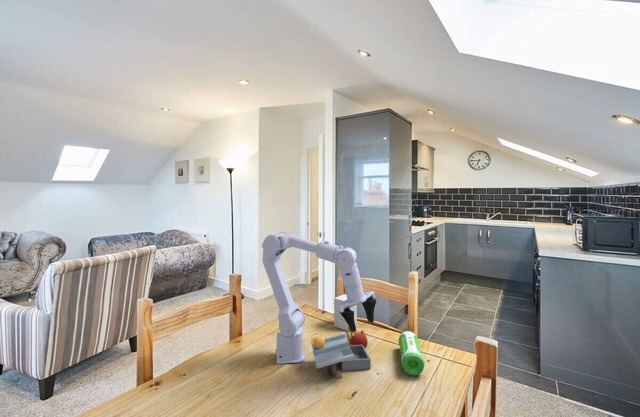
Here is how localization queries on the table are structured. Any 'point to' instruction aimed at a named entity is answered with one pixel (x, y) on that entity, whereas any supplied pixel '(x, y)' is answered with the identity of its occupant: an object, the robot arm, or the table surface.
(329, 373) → the stand
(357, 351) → the grey open box
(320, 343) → the ball
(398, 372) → the table surface
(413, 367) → the speaker
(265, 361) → the table surface
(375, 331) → the table surface
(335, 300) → the supplement box
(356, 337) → the kendama
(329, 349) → the light blue flat piece
